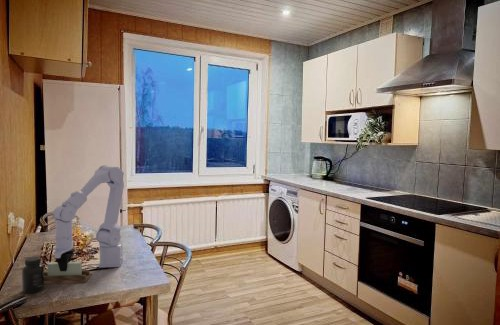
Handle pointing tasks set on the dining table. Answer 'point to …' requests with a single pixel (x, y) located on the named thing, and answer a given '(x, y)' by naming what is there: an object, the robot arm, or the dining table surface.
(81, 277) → the brown flat wooden board
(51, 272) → the door panel
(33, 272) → the supplement bottle
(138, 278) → the dining table surface
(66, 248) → the robot arm
